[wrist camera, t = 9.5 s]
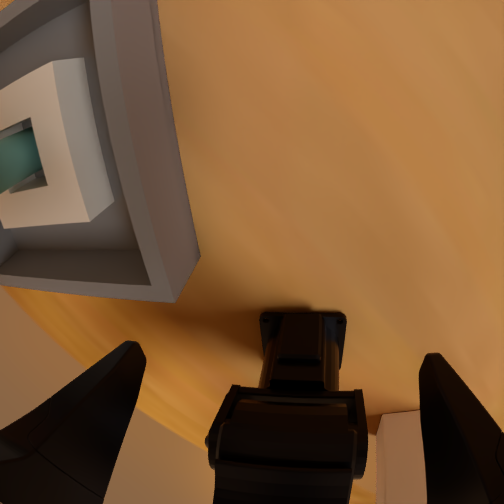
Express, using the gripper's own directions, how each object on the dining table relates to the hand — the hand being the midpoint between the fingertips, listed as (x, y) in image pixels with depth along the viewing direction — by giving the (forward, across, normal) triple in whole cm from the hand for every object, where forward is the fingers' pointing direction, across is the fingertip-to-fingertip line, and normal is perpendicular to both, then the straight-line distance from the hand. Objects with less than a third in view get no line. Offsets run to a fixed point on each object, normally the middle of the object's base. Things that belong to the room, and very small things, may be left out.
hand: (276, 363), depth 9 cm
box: (+12, +17, -6) cm, 22 cm away
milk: (+12, -12, +27) cm, 32 cm away
